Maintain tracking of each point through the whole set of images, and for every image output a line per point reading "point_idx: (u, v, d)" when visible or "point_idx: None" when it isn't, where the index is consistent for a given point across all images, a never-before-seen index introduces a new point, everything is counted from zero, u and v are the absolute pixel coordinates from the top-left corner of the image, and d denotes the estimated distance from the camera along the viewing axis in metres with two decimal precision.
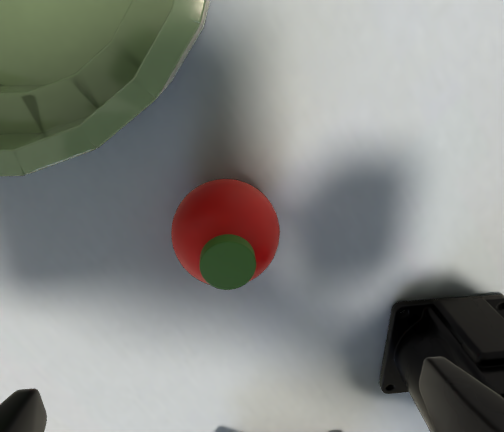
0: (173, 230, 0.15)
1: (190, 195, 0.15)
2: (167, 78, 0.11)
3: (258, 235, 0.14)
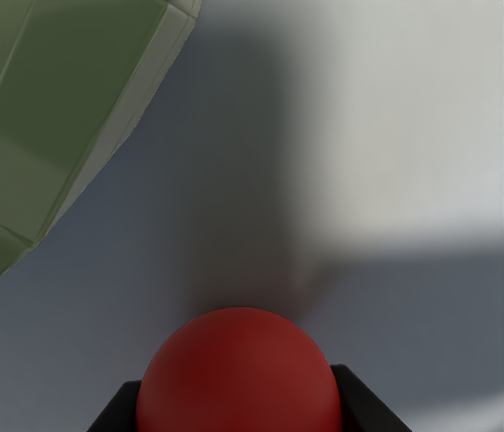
0: (136, 428, 0.08)
1: (170, 358, 0.08)
2: (66, 187, 0.03)
3: None
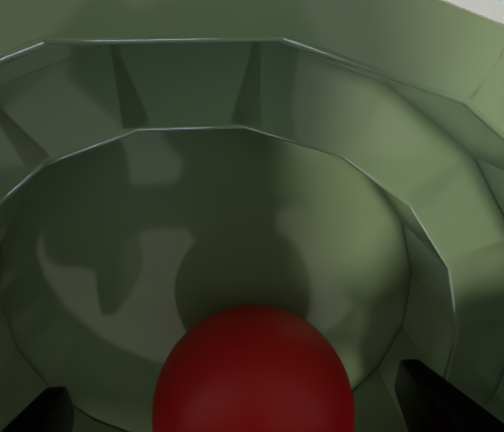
0: (153, 412, 0.08)
1: (188, 346, 0.08)
2: None
3: None
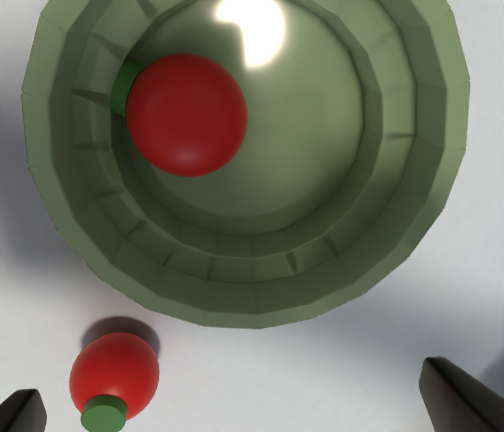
0: None
1: None
2: (417, 244, 0.15)
3: None
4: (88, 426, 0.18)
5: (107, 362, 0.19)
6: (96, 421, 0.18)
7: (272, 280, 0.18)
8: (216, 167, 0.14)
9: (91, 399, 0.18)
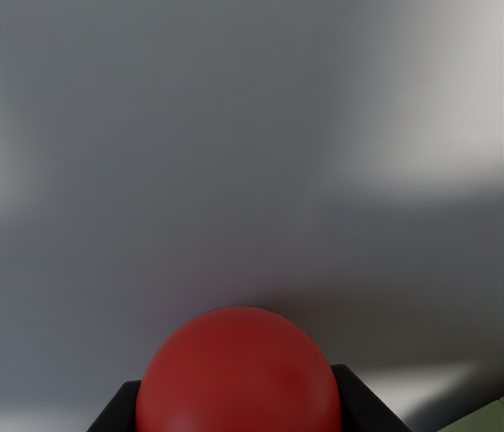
0: None
1: None
2: None
3: None
4: None
5: None
6: None
7: None
8: None
9: None
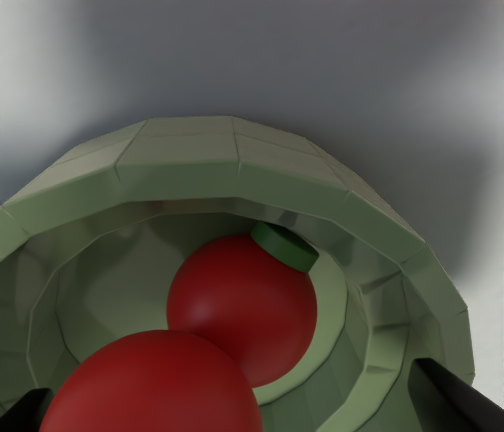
0: None
1: None
2: None
3: (313, 287, 0.11)
4: None
5: None
6: None
7: None
8: None
9: None
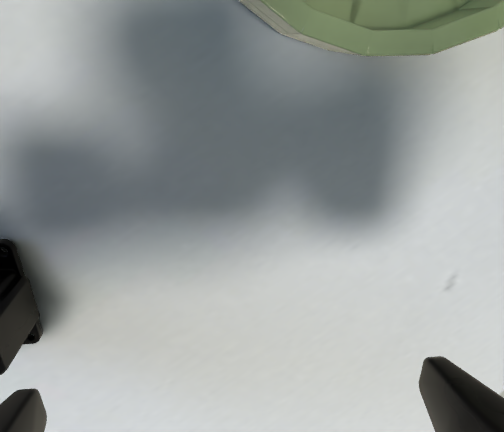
0: None
1: None
2: None
3: None
4: None
5: None
6: None
7: None
8: None
9: None
